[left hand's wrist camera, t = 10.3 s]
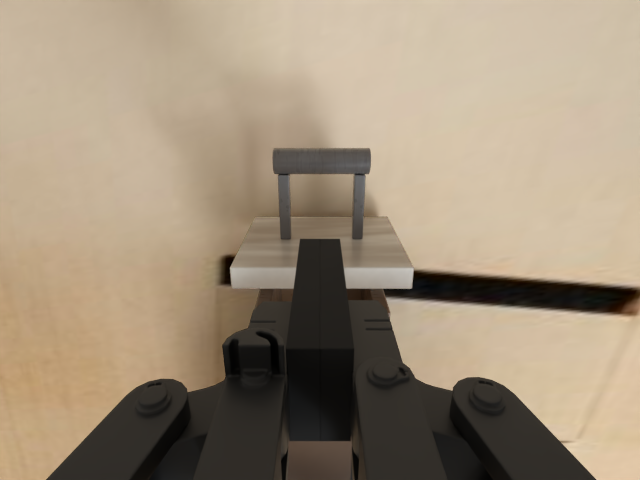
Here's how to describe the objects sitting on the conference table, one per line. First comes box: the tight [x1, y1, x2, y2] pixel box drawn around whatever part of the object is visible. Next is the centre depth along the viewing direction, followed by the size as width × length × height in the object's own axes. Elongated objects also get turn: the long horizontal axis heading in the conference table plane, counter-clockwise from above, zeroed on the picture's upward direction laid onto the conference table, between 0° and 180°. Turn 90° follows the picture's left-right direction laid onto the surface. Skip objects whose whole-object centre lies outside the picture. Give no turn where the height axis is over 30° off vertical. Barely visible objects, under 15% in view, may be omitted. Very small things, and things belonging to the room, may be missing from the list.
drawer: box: [230, 148, 414, 319], centre depth 25 cm, size 22×9×8 cm, turn 0°
